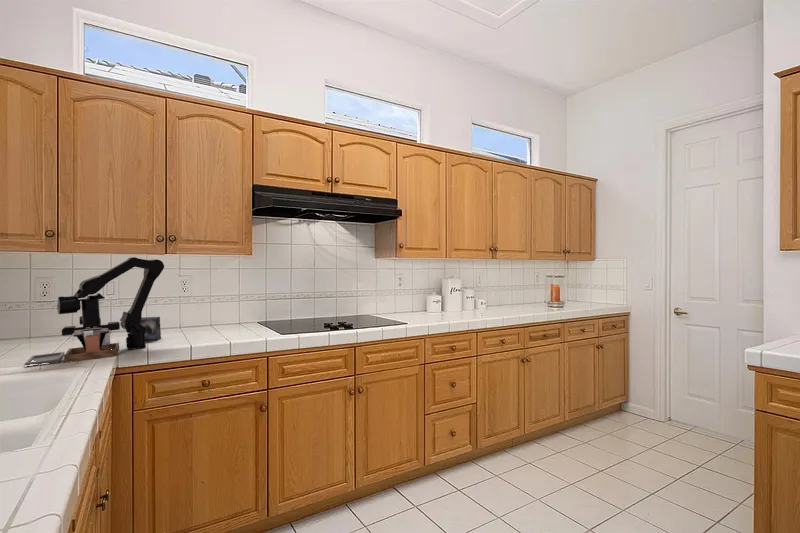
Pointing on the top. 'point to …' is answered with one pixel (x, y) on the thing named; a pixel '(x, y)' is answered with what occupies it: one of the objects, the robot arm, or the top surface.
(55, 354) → the charcoal tray
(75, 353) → the frame
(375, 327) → the top surface
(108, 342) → the medicine box
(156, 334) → the small box
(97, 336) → the brick block
